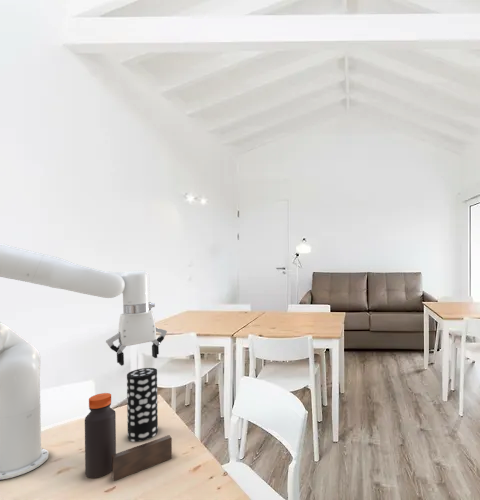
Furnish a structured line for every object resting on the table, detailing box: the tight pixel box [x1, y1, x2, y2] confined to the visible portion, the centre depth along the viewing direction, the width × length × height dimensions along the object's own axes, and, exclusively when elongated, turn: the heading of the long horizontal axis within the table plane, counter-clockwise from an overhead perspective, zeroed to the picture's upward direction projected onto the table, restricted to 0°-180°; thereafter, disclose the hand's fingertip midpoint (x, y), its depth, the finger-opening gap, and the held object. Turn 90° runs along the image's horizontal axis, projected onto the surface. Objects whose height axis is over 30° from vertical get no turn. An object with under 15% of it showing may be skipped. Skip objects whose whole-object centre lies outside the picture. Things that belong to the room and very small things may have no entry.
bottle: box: [84, 392, 117, 479], centre depth 95 cm, size 7×7×20 cm
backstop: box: [111, 434, 173, 482], centre depth 96 cm, size 14×2×6 cm, turn 134°
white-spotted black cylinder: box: [126, 367, 159, 443], centre depth 113 cm, size 8×8×20 cm
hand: (138, 360), depth 116 cm, fingers open, 9 cm apart
